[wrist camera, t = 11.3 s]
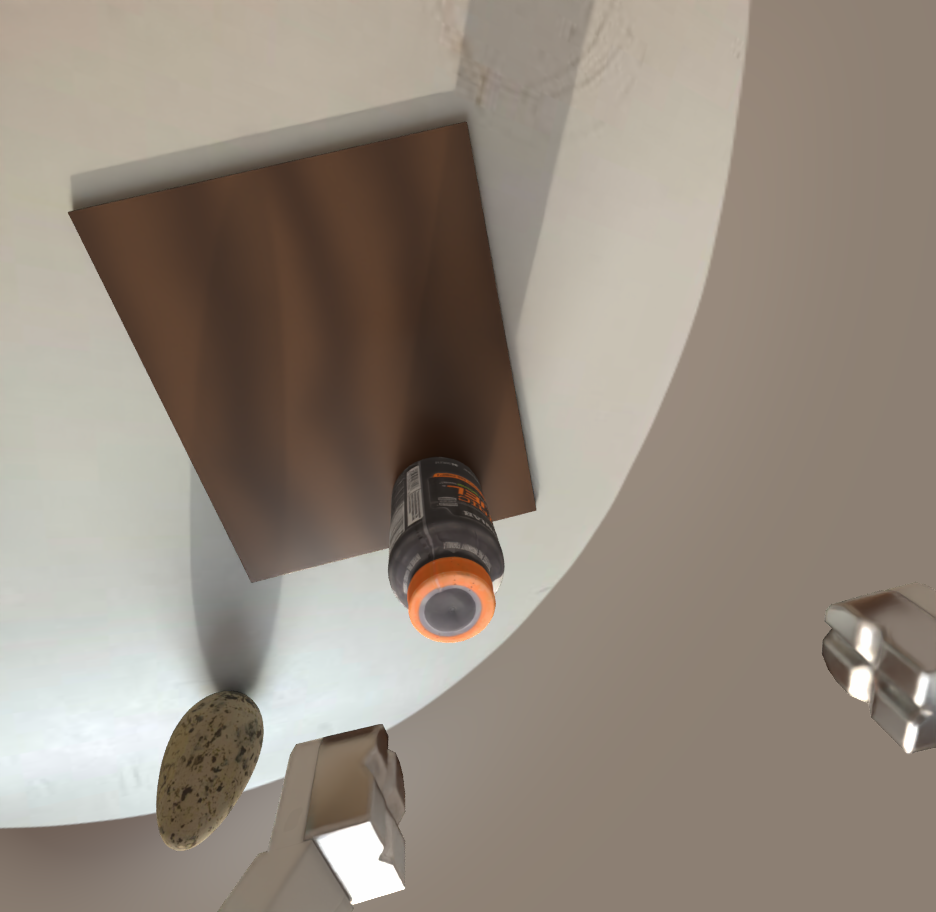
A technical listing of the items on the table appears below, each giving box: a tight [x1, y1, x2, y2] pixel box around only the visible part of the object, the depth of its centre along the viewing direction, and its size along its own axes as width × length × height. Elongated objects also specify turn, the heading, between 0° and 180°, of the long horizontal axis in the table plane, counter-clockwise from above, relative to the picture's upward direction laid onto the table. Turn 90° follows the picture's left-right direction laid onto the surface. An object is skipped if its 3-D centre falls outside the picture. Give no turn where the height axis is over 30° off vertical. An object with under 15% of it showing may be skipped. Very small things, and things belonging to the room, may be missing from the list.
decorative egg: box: [156, 691, 264, 851], centre depth 33 cm, size 6×6×10 cm
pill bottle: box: [388, 457, 504, 643], centre depth 27 cm, size 6×6×11 cm
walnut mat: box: [68, 122, 536, 583], centre depth 29 cm, size 20×23×1 cm
